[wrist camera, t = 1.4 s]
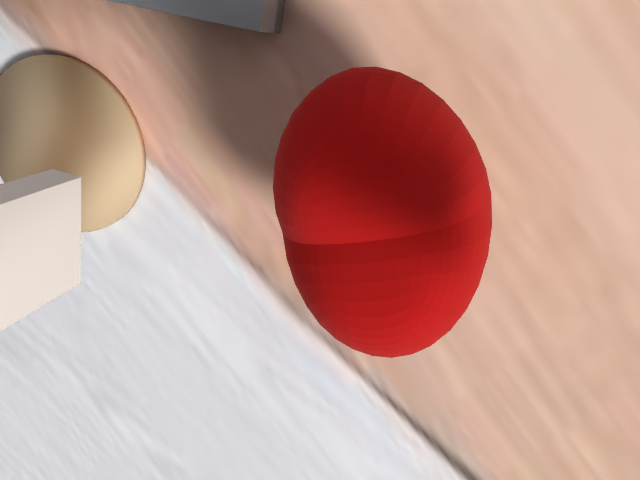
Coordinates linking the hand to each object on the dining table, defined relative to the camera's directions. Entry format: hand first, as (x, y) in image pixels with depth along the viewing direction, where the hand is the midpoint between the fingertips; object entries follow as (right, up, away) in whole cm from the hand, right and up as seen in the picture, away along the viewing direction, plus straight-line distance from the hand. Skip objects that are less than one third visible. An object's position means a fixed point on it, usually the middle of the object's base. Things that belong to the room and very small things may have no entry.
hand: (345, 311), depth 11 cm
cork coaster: (-14, +6, +16) cm, 22 cm away
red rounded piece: (+3, +5, +12) cm, 14 cm away
